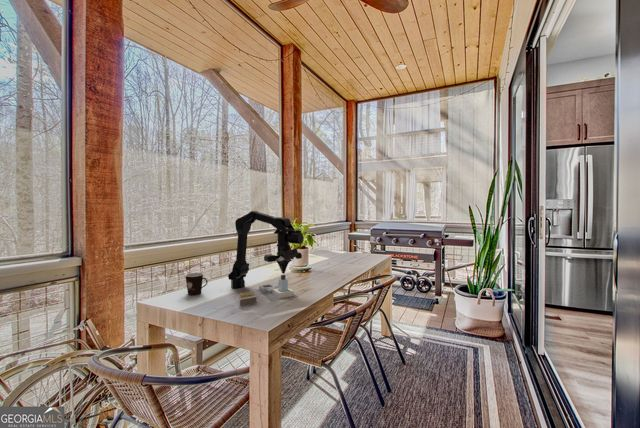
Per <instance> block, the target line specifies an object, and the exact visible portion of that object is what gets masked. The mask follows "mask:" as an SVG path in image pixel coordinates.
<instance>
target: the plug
mask: <svg viewBox="0 0 640 428" xmlns="http://www.w3.org/2000/svg"><path fill="white" fill-rule="evenodd" d="M288 282H289V280H288V278H286V274H281V275H280V278H278V286H279V291H280V292H285V291H288V288H289V286H288V285H289V283H288Z"/></svg>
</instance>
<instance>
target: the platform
mask: <svg viewBox="0 0 640 428" xmlns="http://www.w3.org/2000/svg"><path fill="white" fill-rule="evenodd" d="M258 297H260V294H257V293H254V292H253V291H246V292H240V295H238V297H237V300H238V301H239V306H243V305H249V304H255V303H257V302H258V301H257V300H258V299H257V298H258Z"/></svg>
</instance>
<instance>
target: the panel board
mask: <svg viewBox="0 0 640 428" xmlns="http://www.w3.org/2000/svg"><path fill="white" fill-rule="evenodd" d="M274 287H275V289H278V288H279V285H277V286H274ZM255 291H256V292H257V293H259V295H262V296H264V297H265V298H266V299H267V300H269V301H270V302H276V301H282V300H288V299H292V298H298V296H299V295H297V294H295V293H294V296H289V297H284V298H278V297H277V296H275V295H274V294H273V292H269V293H262V292H261V291H259V288H258V289H255Z"/></svg>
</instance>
